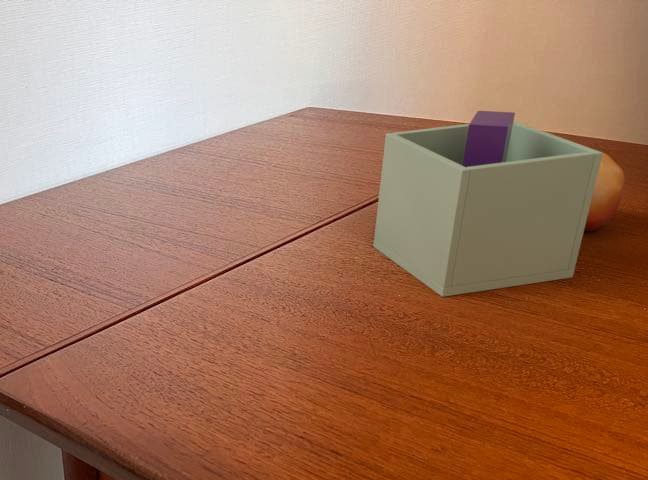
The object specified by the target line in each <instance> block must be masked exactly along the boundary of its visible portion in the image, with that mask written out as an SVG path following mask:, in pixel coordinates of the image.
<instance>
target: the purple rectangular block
mask: <svg viewBox="0 0 648 480" xmlns="http://www.w3.org/2000/svg"><path fill="white" fill-rule="evenodd" d="M515 115H516V112H511V111H492V110H477V111H476V113H475V115H474V116H473V117H472V119H471V121H470V122H469V123H468V124H469V128H468V134H467V140H466V146H465V153H464V159H463V165H462V166H464V167H470V166H478V165H486V164H494V163H502V162H506V159H507V153H508V148H509V143H510V137H511V132H512V127H513V121H515V117H516V116H515Z"/></svg>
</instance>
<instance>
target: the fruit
mask: <svg viewBox="0 0 648 480" xmlns="http://www.w3.org/2000/svg"><path fill="white" fill-rule="evenodd" d="M601 152H602V151H601ZM602 153H603V154H602V158H601V163H600V167H599V171H598V175H597V179H596V183H595V187H594V191H593V196H592V200H591V204H590V208H589V212H588V216H587V220H586V224H585V228H584V232H593V231H596V230H599V229H601V228H603V227H604V226H606V224H607V223H608V222H610V219H611V218H612V217H613V215H614V214H615V213H616V211H617V209H619V205H620V203H621V199H622V197H623V192H624V187H625V174H624V171H623V169H622V167H621V166H619V165H618V164H617V163H616V162H615V161H614V160H613V158H612V157H611V156H610V155H608V154H606V153H605V152H602Z"/></svg>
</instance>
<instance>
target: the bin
mask: <svg viewBox="0 0 648 480" xmlns="http://www.w3.org/2000/svg"><path fill="white" fill-rule="evenodd" d="M469 124H470V123H464V124H456V125H455V124H454V125H447V126H439V127H430V128H422V129H421V128H420V129H414V130H413V129H412V130H405V131H403V130H402V131H396V132H387V133H386V134H385V139H384V148H383V156H382V166H381V175H380V183H379V192H378V202H377V209H376V210H377V211H376V220H375V227H374V237H373V245H372V247H373V248H374V249H375V250H377V251H378V252H380V253H381V254H382V255H384V256H385V257H386V258H388V259H389V260H391V261H392V262H393V263H394V264H396V265H398V266H399V267H400V268H402V269H403V270H404V271H406V272H407V273H409V274H410V275H412V276H413V277H414V278H416V280H418V281H420V282H421V283H422V284H424V285H425V286H426V287H428V288H429V289H430V290H432V291H433V292H434V293H436V294H437V295H439V296H440V297H442V298H443V297H444V298H445V297H451V296H456V295H458V296H459V295H463V294H471V293H478V292H484V291H490V290H491V291H493V290H497V289H505V288H510V287H518V286H525V285H531V284H538V283H544V282H545V283H546V282H552V281H558V280H565V279H572V278H574V275H575V270H576V265H577V261H578V257H579V253H580V249H581V245H582V240H583V236H584V232H585V231H584V228H585V224H586V220H587V216H588V212H589V208H590V204H591V200H592V196H593V191H594V187H595V183H596V179H597V175H598V171H599V167H600V163H601V158H602V154H603V153H604V152H603V153H602V151H599V150H597V149H594V148H591V147H588V146H586V145H582V144H580V143H578V142H574V141H573V140H568V139H566V138H563V137H561V136H558V135H555V134H552V133H549V132H547V131H544V130H541V129H539V128H536V127H533V126H529V125H527V124H524V123H522V122H518V121H516V120H514V121H513V127H512V132H511V137H510V143H509V148H508V153H507V159H506V162H502V163H494V164H486V165H478V166H470V167H464V166H462V165H463V159H464V153H465V146H466V140H467V134H468V128H469Z"/></svg>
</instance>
